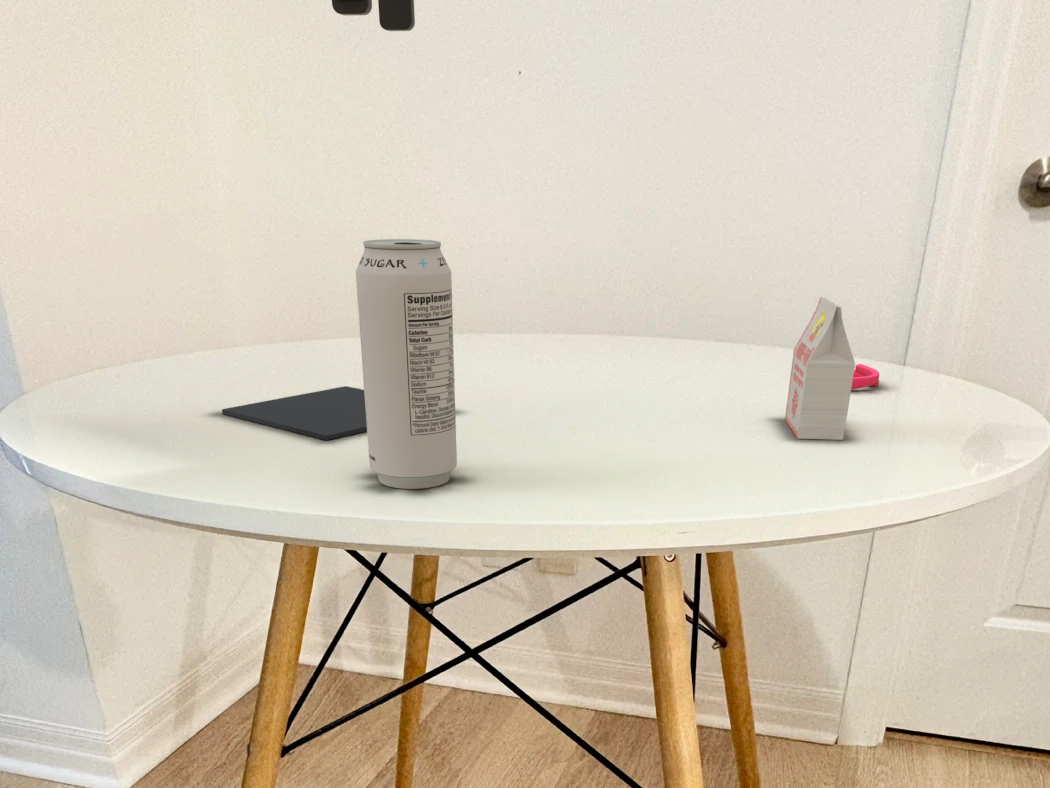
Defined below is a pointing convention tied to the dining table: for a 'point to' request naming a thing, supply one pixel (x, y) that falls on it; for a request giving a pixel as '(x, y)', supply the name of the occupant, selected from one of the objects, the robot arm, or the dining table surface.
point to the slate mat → (311, 413)
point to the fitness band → (865, 377)
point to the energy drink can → (407, 361)
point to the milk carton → (821, 377)
